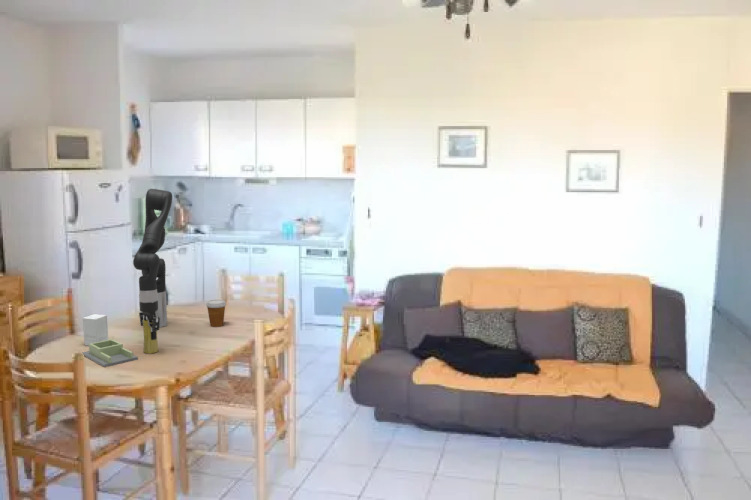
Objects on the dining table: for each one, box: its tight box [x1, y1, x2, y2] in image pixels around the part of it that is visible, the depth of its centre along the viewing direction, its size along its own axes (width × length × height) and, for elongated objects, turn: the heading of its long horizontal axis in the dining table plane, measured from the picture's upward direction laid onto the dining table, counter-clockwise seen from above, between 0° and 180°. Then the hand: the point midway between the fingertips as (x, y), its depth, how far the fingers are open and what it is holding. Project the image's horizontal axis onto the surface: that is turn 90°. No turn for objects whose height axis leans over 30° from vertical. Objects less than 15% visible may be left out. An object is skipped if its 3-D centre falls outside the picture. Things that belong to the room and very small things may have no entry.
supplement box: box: [82, 313, 109, 347], centre depth 294 cm, size 7×7×13 cm
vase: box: [142, 319, 159, 354], centre depth 284 cm, size 6×6×14 cm
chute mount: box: [81, 338, 139, 368], centre depth 276 cm, size 22×14×5 cm, turn 46°
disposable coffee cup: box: [206, 299, 227, 328], centre depth 325 cm, size 10×10×12 cm
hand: (150, 337), depth 284 cm, fingers closed on vase, 5 cm apart
